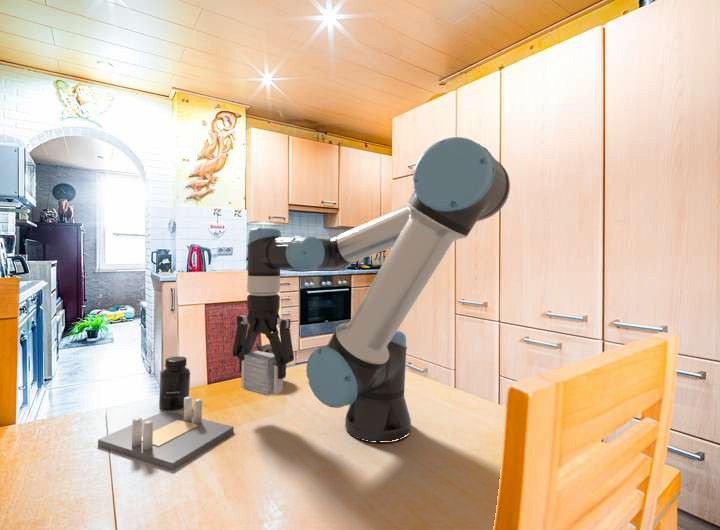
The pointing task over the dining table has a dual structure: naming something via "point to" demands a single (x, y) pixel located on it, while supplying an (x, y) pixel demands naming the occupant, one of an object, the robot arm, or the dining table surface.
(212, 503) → the dining table surface
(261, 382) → the medicine box
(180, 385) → the supplement bottle
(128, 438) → the pin tray
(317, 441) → the dining table surface
